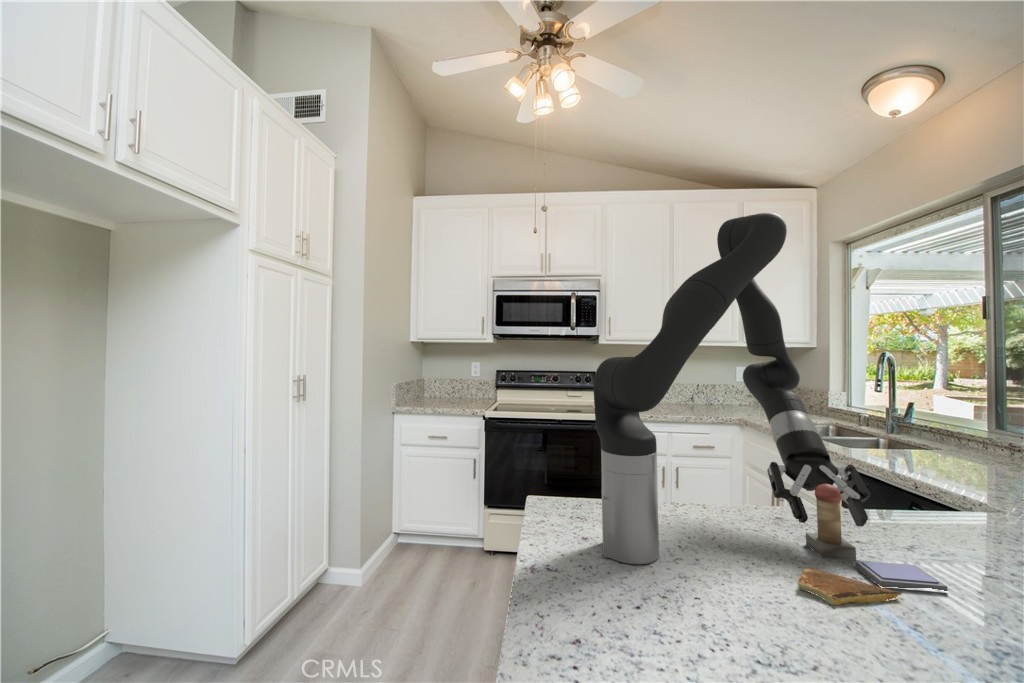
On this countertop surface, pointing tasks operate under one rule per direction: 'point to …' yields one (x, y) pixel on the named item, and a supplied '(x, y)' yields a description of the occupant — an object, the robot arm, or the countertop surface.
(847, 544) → the stamp
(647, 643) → the countertop surface
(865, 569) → the ink pad
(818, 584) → the brown flat slab
